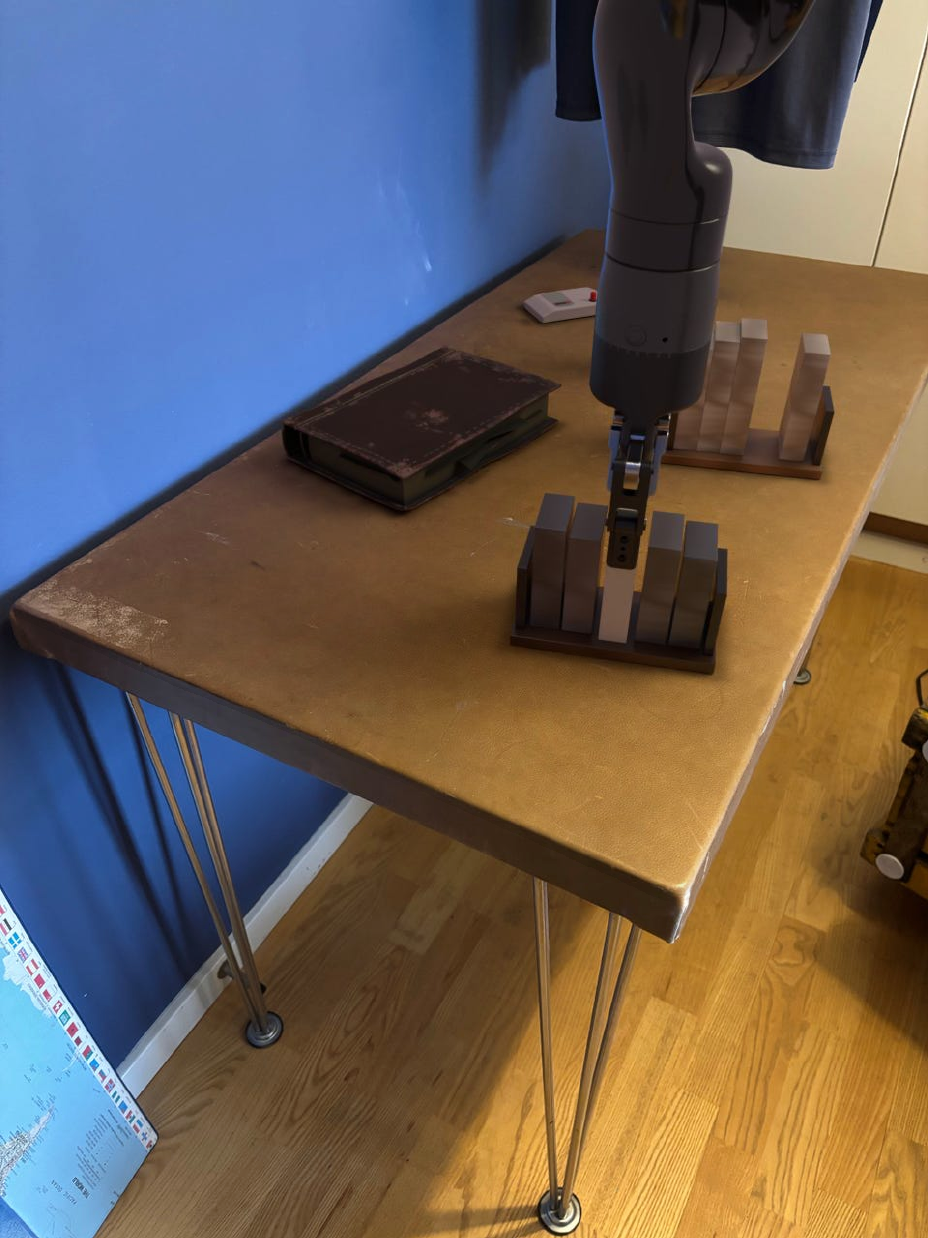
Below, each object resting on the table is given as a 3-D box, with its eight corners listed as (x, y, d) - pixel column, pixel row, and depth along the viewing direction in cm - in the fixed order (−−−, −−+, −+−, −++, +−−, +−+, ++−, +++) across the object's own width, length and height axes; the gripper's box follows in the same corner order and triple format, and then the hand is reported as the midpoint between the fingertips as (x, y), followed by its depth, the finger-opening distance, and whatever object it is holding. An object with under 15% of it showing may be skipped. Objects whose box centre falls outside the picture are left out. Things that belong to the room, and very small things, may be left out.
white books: (815, 442, 98) (847, 320, 90) (820, 479, 92) (855, 352, 84) (665, 427, 101) (683, 307, 93) (660, 462, 95) (679, 337, 87)
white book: (632, 597, 76) (650, 471, 68) (626, 643, 72) (644, 514, 64) (606, 594, 76) (620, 468, 69) (598, 639, 72) (612, 510, 64)
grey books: (715, 610, 76) (738, 503, 70) (713, 674, 70) (738, 563, 64) (526, 585, 79) (531, 480, 72) (509, 644, 73) (513, 536, 66)
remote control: (511, 309, 129) (512, 287, 127) (610, 294, 133) (612, 273, 131) (530, 325, 124) (531, 304, 122) (632, 310, 129) (634, 288, 127)
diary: (283, 459, 96) (276, 415, 93) (440, 380, 111) (439, 341, 108) (411, 521, 87) (409, 475, 84) (564, 427, 102) (567, 385, 98)
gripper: (710, 377, 52) (670, 605, 63) (714, 290, 63) (680, 497, 74) (580, 365, 54) (562, 590, 64) (606, 282, 65) (587, 487, 75)
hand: (625, 540), depth 69 cm, fingers closed on white book, 6 cm apart
